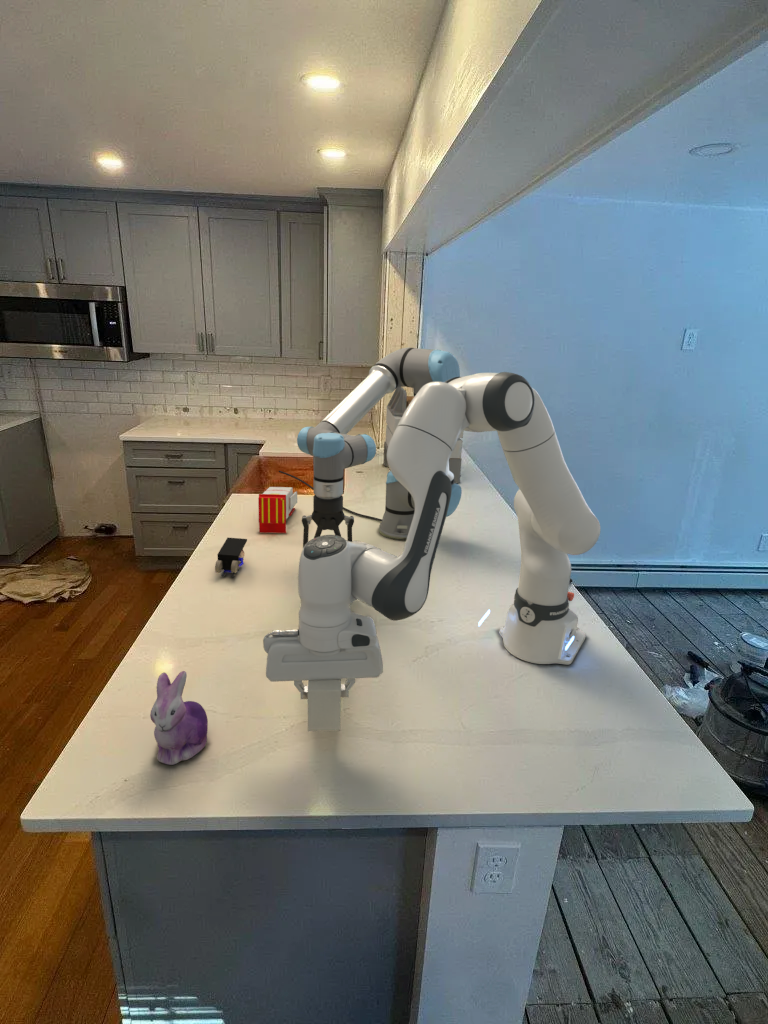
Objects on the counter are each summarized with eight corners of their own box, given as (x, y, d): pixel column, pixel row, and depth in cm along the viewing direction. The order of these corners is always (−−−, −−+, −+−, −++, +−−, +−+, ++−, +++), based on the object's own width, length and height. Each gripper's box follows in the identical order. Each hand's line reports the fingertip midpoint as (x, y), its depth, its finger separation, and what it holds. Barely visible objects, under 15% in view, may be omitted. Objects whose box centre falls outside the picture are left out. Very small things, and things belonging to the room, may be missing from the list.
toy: (299, 482, 220) (288, 496, 190) (299, 516, 222) (288, 534, 193) (267, 481, 219) (252, 495, 190) (268, 515, 222) (253, 533, 193)
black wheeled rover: (238, 584, 162) (249, 557, 175) (236, 562, 158) (247, 536, 172) (215, 584, 161) (227, 556, 175) (212, 561, 158) (225, 535, 171)
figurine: (158, 776, 94) (149, 701, 89) (151, 736, 102) (142, 665, 97) (216, 758, 98) (211, 685, 93) (204, 721, 107) (199, 653, 102)
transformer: (382, 463, 289) (386, 382, 275) (445, 464, 293) (451, 384, 279) (390, 482, 257) (394, 392, 243) (460, 483, 261) (468, 394, 247)
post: (317, 571, 156) (317, 543, 153) (337, 571, 157) (338, 543, 154) (307, 731, 98) (307, 691, 95) (340, 730, 99) (341, 690, 96)
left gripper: (290, 499, 140) (291, 583, 148) (365, 500, 141) (362, 583, 149) (292, 489, 147) (293, 570, 155) (364, 490, 148) (361, 570, 156)
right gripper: (261, 641, 92) (264, 710, 97) (385, 637, 95) (382, 705, 99) (264, 621, 98) (267, 687, 103) (381, 617, 101) (378, 683, 105)
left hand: (327, 576), depth 152 cm, fingers closed on post, 6 cm apart
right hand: (324, 696), depth 101 cm, fingers closed on post, 5 cm apart
